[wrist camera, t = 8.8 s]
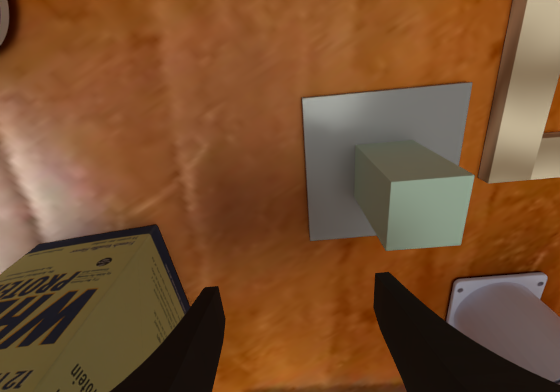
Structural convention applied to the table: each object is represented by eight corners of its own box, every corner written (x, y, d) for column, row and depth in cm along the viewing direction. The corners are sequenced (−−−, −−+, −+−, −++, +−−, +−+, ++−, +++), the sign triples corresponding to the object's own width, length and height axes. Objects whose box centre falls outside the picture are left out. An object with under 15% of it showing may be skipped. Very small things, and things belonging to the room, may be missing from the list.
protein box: (156, 220, 24) (-17, 454, 10) (211, 353, 30) (154, 612, 16) (34, 241, 24) (-299, 492, 10) (112, 367, 31) (-26, 629, 17)
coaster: (444, 225, 24) (448, 229, 24) (309, 236, 25) (310, 240, 24) (466, 81, 20) (472, 82, 19) (301, 97, 20) (302, 98, 20)
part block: (407, 192, 22) (460, 244, 16) (354, 196, 22) (386, 250, 16) (413, 140, 21) (474, 175, 14) (355, 144, 21) (391, 182, 14)
